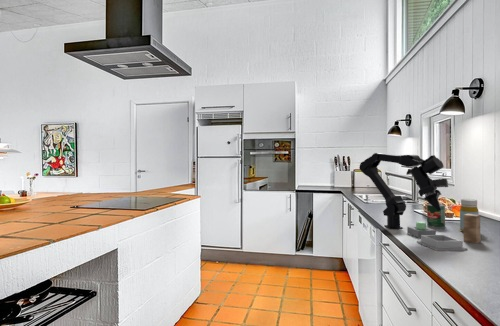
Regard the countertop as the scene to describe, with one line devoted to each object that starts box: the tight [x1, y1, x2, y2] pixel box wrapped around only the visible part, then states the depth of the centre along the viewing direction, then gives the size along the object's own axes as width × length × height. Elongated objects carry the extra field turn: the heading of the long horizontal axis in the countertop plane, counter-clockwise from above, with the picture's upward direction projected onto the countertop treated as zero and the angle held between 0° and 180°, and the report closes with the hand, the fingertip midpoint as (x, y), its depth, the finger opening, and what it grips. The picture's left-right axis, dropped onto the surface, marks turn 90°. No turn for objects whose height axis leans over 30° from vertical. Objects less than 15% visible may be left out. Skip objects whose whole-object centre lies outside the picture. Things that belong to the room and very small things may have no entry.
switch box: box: [406, 226, 437, 239], centre depth 136 cm, size 8×8×3 cm
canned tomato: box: [426, 203, 446, 229], centre depth 154 cm, size 8×8×11 cm
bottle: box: [459, 198, 480, 233], centre depth 141 cm, size 7×7×15 cm
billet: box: [463, 214, 482, 244], centre depth 125 cm, size 4×4×11 cm
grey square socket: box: [416, 234, 468, 252], centre depth 119 cm, size 12×12×3 cm
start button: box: [415, 221, 427, 230], centre depth 136 cm, size 4×4×5 cm
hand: (440, 210), depth 132 cm, fingers closed
